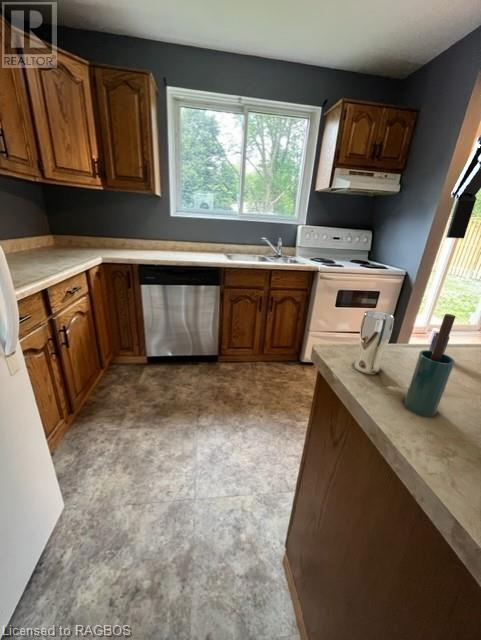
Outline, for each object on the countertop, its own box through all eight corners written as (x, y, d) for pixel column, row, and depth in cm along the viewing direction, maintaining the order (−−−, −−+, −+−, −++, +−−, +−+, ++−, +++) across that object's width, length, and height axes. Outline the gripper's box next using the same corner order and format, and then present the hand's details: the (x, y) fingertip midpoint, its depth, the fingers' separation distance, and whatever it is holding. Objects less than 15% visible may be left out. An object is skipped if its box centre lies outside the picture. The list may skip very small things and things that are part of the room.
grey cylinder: (438, 355, 81) (445, 333, 78) (444, 361, 77) (452, 338, 75) (425, 353, 81) (431, 332, 79) (430, 359, 78) (438, 337, 75)
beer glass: (356, 359, 76) (367, 308, 70) (383, 367, 72) (397, 314, 67) (349, 369, 70) (361, 315, 65) (378, 378, 67) (393, 322, 61)
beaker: (427, 401, 59) (444, 352, 55) (441, 418, 54) (461, 365, 50) (400, 397, 60) (415, 348, 56) (411, 414, 55) (428, 362, 50)
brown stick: (422, 402, 57) (453, 313, 50) (427, 409, 55) (459, 317, 48) (412, 401, 58) (441, 312, 51) (416, 407, 56) (447, 316, 49)
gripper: (451, 114, 50) (420, 235, 57) (592, 22, 26) (508, 245, 34) (497, 113, 48) (459, 237, 56) (686, 16, 25) (578, 249, 33)
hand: (477, 240), depth 45 cm, fingers open, 13 cm apart
